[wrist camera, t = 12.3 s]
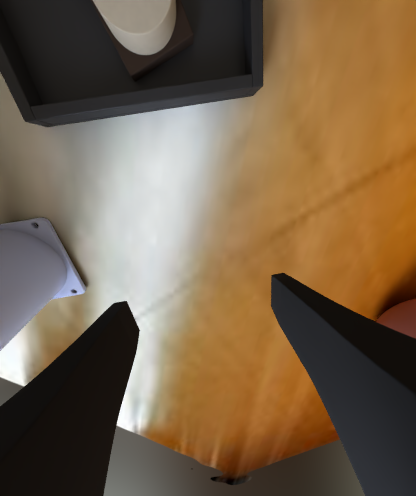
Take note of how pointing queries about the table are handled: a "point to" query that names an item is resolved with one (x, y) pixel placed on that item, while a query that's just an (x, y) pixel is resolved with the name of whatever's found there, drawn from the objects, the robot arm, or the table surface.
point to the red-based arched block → (145, 31)
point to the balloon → (401, 318)
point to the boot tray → (112, 67)
